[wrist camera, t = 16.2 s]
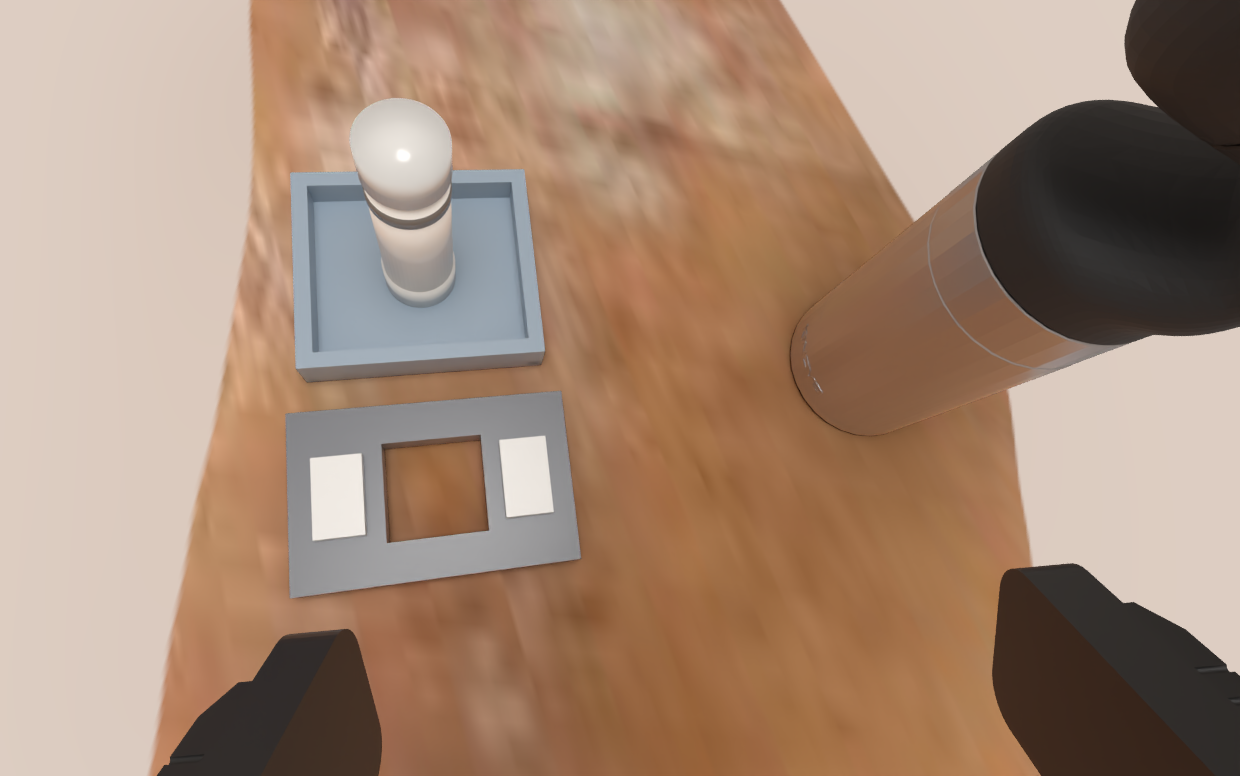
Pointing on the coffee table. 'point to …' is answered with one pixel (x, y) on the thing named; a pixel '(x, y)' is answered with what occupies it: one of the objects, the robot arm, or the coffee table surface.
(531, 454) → the block
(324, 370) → the parts tray
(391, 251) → the fuse
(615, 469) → the coffee table surface
